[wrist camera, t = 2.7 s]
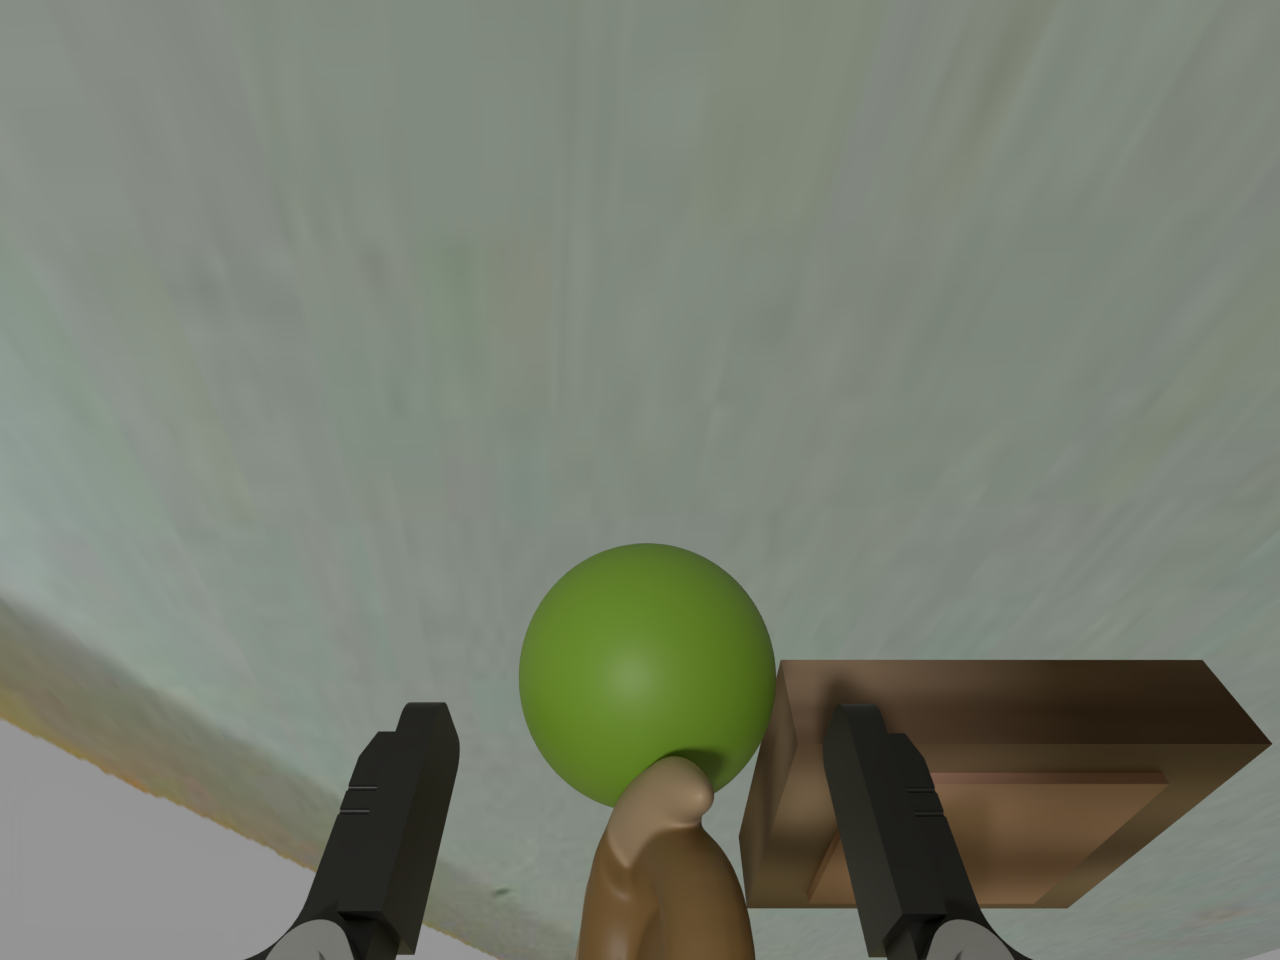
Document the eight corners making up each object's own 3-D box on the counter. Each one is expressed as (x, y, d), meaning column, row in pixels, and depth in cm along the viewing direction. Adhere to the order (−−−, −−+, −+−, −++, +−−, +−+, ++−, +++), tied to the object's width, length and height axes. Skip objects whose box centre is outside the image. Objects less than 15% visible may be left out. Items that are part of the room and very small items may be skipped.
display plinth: (780, 659, 18) (800, 755, 15) (1202, 660, 18) (1282, 755, 15) (738, 836, 25) (747, 917, 23) (1034, 836, 25) (1071, 917, 23)
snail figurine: (510, 641, 17) (352, 1438, 8) (566, 466, 13) (388, 1619, 4) (693, 677, 18) (750, 1416, 9) (794, 525, 14) (1083, 1541, 5)
